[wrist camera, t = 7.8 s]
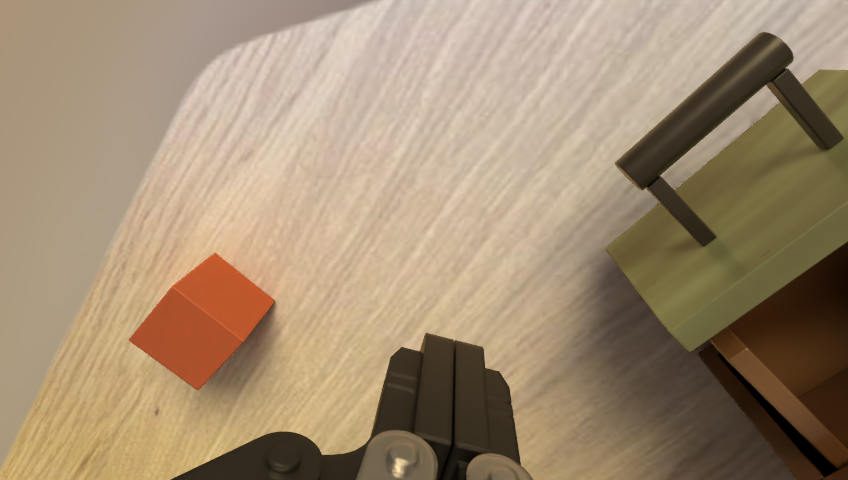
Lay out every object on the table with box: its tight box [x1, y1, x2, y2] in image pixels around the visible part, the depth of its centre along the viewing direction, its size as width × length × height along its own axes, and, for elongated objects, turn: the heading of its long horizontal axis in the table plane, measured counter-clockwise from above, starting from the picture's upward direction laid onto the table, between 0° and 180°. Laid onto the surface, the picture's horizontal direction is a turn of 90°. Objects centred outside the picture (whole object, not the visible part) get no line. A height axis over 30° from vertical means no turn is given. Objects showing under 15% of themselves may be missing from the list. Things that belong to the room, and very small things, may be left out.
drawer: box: [606, 32, 848, 470], centre depth 19 cm, size 18×11×8 cm, turn 47°
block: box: [129, 253, 275, 390], centre depth 25 cm, size 4×4×4 cm
